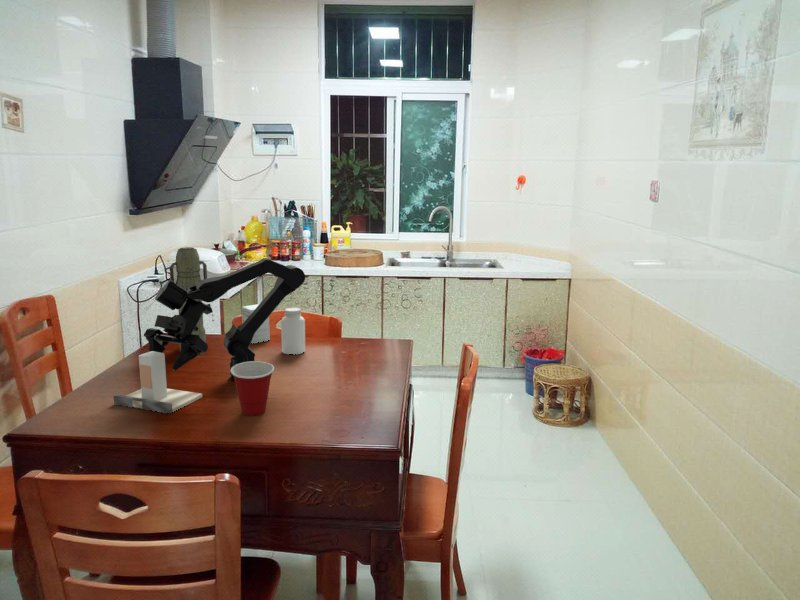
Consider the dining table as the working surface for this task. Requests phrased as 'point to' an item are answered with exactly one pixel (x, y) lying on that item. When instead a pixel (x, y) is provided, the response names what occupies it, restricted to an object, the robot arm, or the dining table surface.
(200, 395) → the shelf board
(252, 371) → the plastic cup
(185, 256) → the thermos
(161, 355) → the grey carton
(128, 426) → the dining table surface
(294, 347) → the pill bottle
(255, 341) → the supplement box
